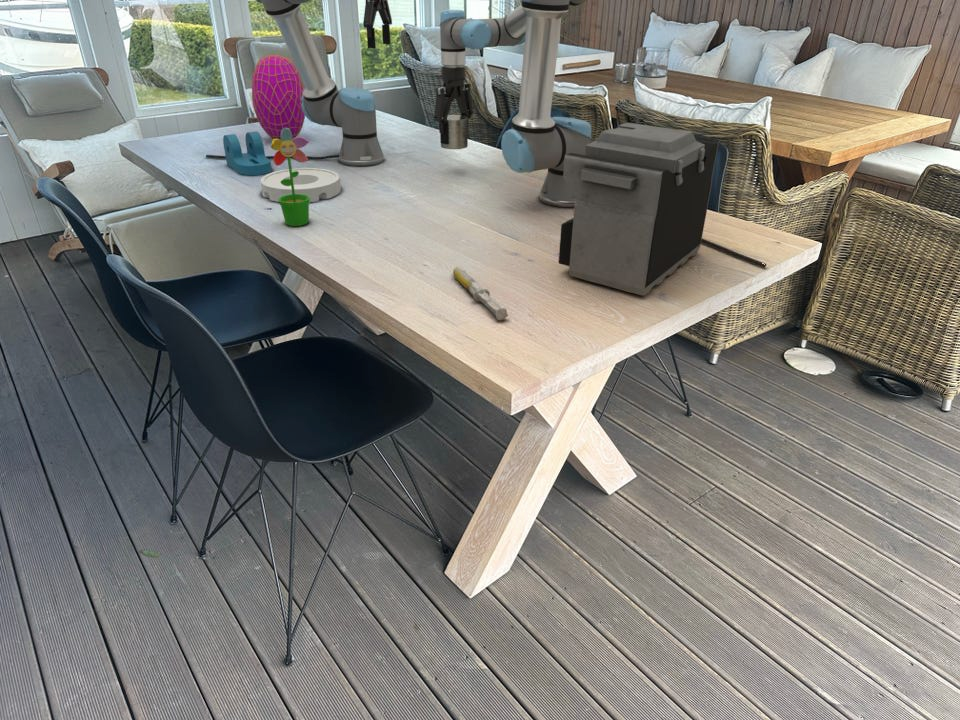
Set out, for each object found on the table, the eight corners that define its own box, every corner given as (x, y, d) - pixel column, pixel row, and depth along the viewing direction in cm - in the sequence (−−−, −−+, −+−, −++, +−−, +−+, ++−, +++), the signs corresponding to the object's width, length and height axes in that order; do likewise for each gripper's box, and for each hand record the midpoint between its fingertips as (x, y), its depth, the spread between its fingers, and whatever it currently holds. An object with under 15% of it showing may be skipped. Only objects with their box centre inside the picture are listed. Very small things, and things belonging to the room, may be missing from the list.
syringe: (449, 274, 155) (449, 263, 153) (465, 272, 156) (464, 260, 154) (490, 323, 135) (491, 310, 133) (508, 319, 136) (508, 307, 134)
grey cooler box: (622, 232, 180) (636, 112, 165) (704, 251, 169) (728, 124, 154) (550, 277, 154) (560, 140, 139) (641, 302, 143) (663, 157, 128)
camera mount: (227, 164, 233) (221, 132, 227) (257, 160, 238) (252, 129, 233) (244, 176, 220) (239, 143, 215) (276, 172, 225) (271, 139, 220)
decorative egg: (293, 132, 276) (283, 50, 261) (319, 140, 264) (310, 56, 249) (249, 139, 265) (236, 54, 250) (273, 148, 253) (261, 60, 238)
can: (468, 143, 227) (468, 115, 222) (466, 149, 219) (466, 120, 215) (442, 143, 227) (441, 114, 222) (439, 149, 219) (439, 119, 215)
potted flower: (284, 229, 179) (270, 130, 166) (277, 220, 185) (263, 124, 172) (319, 224, 183) (308, 127, 170) (311, 215, 188) (300, 121, 176)
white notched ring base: (275, 179, 218) (273, 167, 216) (347, 181, 217) (346, 168, 215) (251, 202, 198) (249, 188, 196) (331, 204, 197) (330, 190, 195)
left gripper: (370, -20, 229) (375, 50, 240) (398, -21, 250) (401, 42, 261) (350, -20, 231) (355, 49, 242) (379, -22, 251) (383, 42, 262)
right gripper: (466, 61, 220) (467, 134, 232) (420, 68, 206) (422, 145, 217) (484, 63, 216) (484, 137, 227) (438, 70, 202) (440, 148, 213)
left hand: (379, 46), depth 251 cm, fingers open, 13 cm apart
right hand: (454, 141), depth 222 cm, fingers closed on can, 9 cm apart
